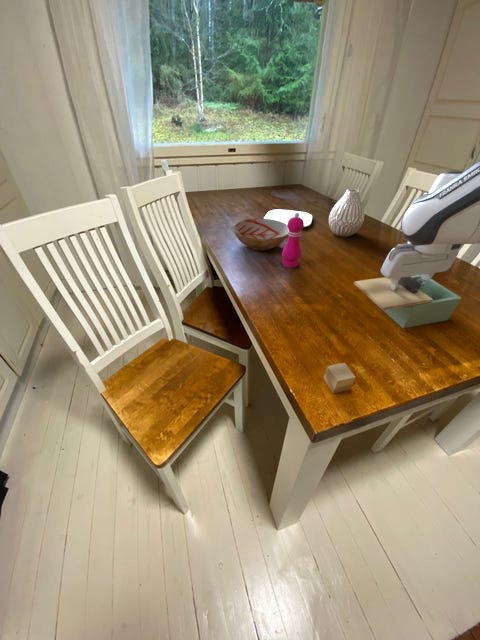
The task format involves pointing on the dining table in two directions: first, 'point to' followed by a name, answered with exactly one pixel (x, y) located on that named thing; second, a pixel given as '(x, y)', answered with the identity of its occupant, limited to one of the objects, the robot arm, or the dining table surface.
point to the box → (426, 306)
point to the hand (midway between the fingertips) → (407, 286)
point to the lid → (393, 292)
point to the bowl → (261, 233)
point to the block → (339, 378)
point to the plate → (288, 216)
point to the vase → (347, 214)
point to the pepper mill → (293, 242)
